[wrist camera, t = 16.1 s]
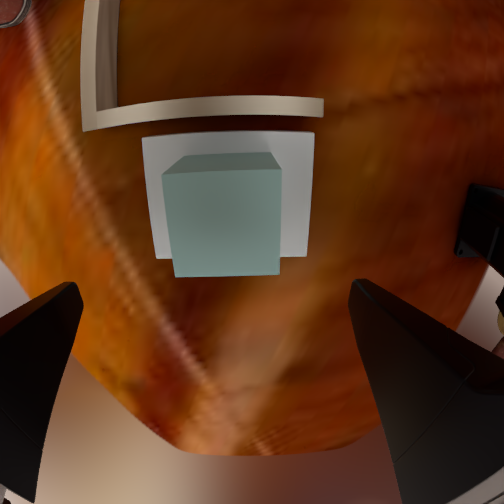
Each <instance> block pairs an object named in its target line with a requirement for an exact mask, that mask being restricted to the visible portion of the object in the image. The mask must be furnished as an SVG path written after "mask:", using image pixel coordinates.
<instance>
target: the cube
mask: <svg viewBox="0 0 504 504" xmlns="http://www.w3.org/2000/svg"><path fill="white" fill-rule="evenodd" d="M161 178H162V187H163V196H164V204H165V212H166V220H167V227H168V234H169V241H170V247H171V254H172V260H173V266H174V272H175V277H211V276H252V275H279V271H280V239H281V194H282V169H281V167H280V166H279V164H278V163H277V161H276V159H275V158H274V156H273V155H272V153H271V152H255V153H223V154H204V155H189V156H183V157H182V158H181V159H179V160H178V161H177V162H176V163H175V164H173V165H172V166H171V167H170V168H169V169H167V170H166V171H165V172H164V173H163V174H161Z"/></svg>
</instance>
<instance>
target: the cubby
mask: <svg viewBox="0 0 504 504" xmlns="http://www.w3.org/2000/svg"><path fill="white" fill-rule="evenodd" d="M119 5H120V0H85V6H84V15H83V26H82V40H81V112H82V127H83V132H85V131H90V130H95V129H100V128H106V127H112V126H118V125H124V124H131V123H138V122H145V121H153V120H162V119H172V118H183V117H197V116H215V115H294V116H312V117H323V102H324V99H320V98H308V97H291V96H215V97H198V98H185V99H175V100H166V101H157V102H150V103H142V104H136V105H130V106H124V107H117V34H118V17H119Z"/></svg>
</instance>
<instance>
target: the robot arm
mask: <svg viewBox="0 0 504 504" xmlns="http://www.w3.org/2000/svg"><path fill="white" fill-rule="evenodd" d="M474 189H475V191H474ZM459 251H460V252H459ZM454 253H455V255H456V256H457V257H481V258H482V259H483V260H485V261H486V262H487V263H488V264H489V265H490V266H491V267H493V268H494V269H495V270H496V271H497V272H498V273H499V274H500V275H501V276H502V277H503V278H504V189H500V188H495V187H490V186H484V185H479V184H472V185H471V186H470V188H469V192H468V197H467V202H466V207H465V212H464V216H463V220H462V224H461V228H460V232H459V236H458V240H457V243H456V247H455V251H454ZM495 303H496V304H497V306H498V308H499V310H500V312H501V314H502V316H503V317H504V287H503V289H502V291H501V293H500V296H498V298H497V300H496V302H495ZM83 307H84V305H83V300H82V297H81V295H80V292H79V289H78V286H77V284H76V283H75V282H63V283H62V284H60V285H58V286H56V287H54V288H52V289H50V290H49V291H47V292H45V293H43V294H41V295H39V296H38V297H36V298H34V299H32V300H30V301H29V302H27V303H26V304H23V305H22V306H20V307H19V308H17V309H15V310H13V311H11V312H9V313H8V314H6V315H4V316H3V317H1V318H0V504H11V503H10V501H9V500H7V499H6V498H4V496H5V492H6V489H8V490H10V491H11V492H13V493H15V494H17V495H18V496H20V497H22V498H24V499H26V500H27V501H29V502H31V503H34V502H35V495H36V488H37V481H38V474H39V468H40V463H41V457H42V452H43V451H42V449H43V447H44V442H45V437H46V433H47V429H48V425H49V421H50V417H51V413H52V409H53V405H54V402H55V399H56V395H57V392H58V389H59V385H60V382H61V378H62V376H63V373H64V370H65V367H66V364H67V361H68V358H69V355H70V353H71V350H72V347H73V343H74V340H75V336H76V333H77V329H78V325H79V322H80V318H81V315H82V312H83ZM348 308H349V313H350V317H351V321H352V325H353V330H354V334H355V338H356V343H357V347H358V350H359V353H360V356H361V359H362V362H363V365H364V368H365V371H366V374H367V377H368V380H369V383H370V386H371V389H372V392H373V396H374V399H375V402H376V405H377V408H378V412H379V415H380V418H381V422H382V425H383V429H384V432H385V435H386V439H387V443H388V447H389V450H390V454H391V458H392V462H393V463H394V465H393V466H394V470H395V474H396V478H397V482H398V487H399V491H400V495H401V499H402V504H504V359H503V358H501V357H499V356H497V355H495V354H494V353H492V352H490V351H488V350H486V349H484V348H482V347H481V346H479V345H477V344H475V343H473V342H471V341H470V340H468V339H466V338H465V337H463V336H461V335H460V334H458V333H456V332H455V331H453V330H452V329H450V328H447V327H446V326H445V325H443V324H442V323H440V322H438V321H437V320H435V319H433V318H432V317H430V316H429V315H427V314H425V313H424V312H422V311H420V310H419V309H417V308H415V307H414V306H412V305H410V304H409V303H407V302H405V301H403V300H402V299H400V298H398V297H397V296H395V295H393V294H392V293H390V292H388V291H387V290H385V289H383V288H381V287H380V286H378V285H376V284H374V283H373V282H371V281H369V280H368V279H354V280H353V282H352V285H351V290H350V295H349V300H348Z"/></svg>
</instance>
